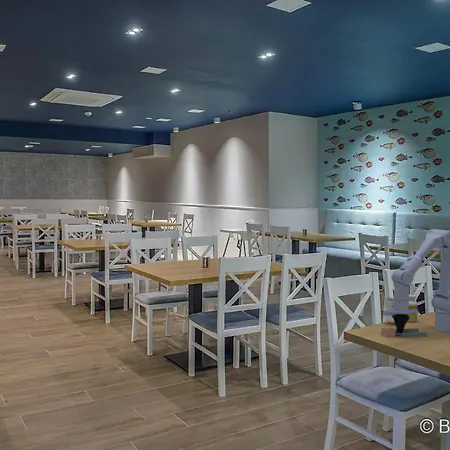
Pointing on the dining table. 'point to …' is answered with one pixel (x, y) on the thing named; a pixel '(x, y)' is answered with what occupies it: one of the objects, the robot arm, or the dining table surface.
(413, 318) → the supplement bottle
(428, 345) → the dining table surface
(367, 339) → the dining table surface
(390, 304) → the wineglass
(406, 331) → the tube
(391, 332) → the block
